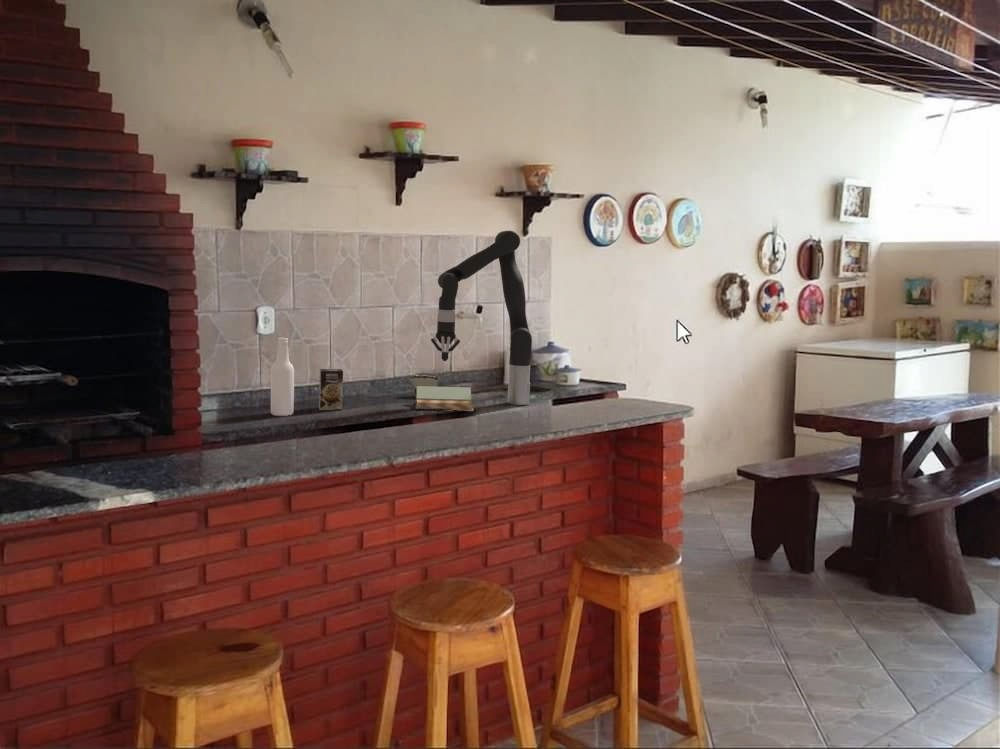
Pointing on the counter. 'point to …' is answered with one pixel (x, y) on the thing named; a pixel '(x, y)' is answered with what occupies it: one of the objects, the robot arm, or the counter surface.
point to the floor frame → (446, 404)
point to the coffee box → (330, 389)
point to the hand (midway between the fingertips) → (444, 360)
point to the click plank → (443, 393)
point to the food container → (424, 380)
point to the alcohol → (282, 382)
